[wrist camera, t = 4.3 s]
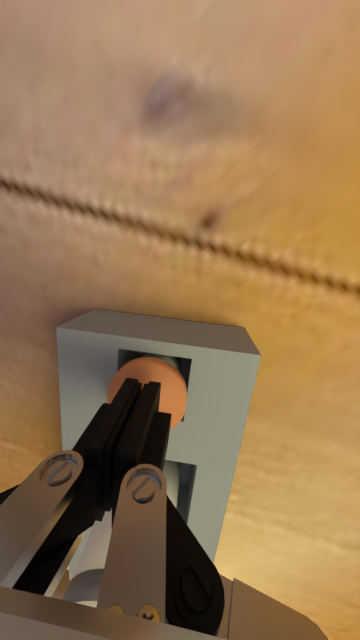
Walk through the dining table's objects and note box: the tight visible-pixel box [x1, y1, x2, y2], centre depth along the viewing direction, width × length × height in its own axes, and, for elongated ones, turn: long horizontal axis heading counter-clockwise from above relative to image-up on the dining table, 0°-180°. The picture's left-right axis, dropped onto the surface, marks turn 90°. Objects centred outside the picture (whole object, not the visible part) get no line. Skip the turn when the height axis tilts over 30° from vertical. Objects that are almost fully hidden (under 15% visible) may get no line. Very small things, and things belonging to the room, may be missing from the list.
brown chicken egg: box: [107, 352, 187, 430], centre depth 15 cm, size 4×4×5 cm
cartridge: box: [62, 460, 181, 607], centre depth 14 cm, size 5×5×12 cm
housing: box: [56, 309, 261, 581], centre depth 19 cm, size 24×12×5 cm, turn 174°
